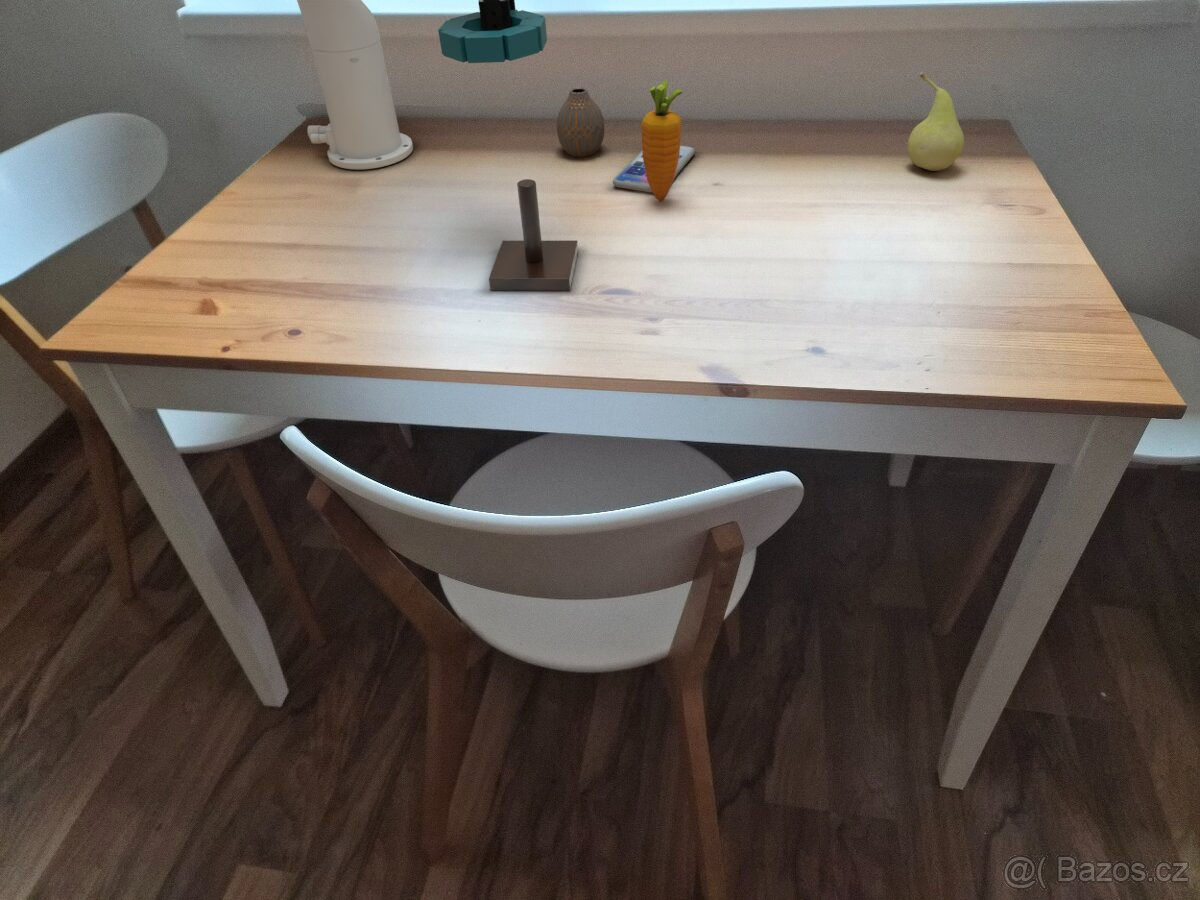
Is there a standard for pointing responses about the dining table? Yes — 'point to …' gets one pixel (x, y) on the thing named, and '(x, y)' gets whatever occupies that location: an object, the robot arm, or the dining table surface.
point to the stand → (533, 253)
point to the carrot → (661, 142)
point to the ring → (492, 38)
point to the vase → (580, 124)
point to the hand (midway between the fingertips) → (500, 35)
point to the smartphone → (636, 175)
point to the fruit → (936, 134)
